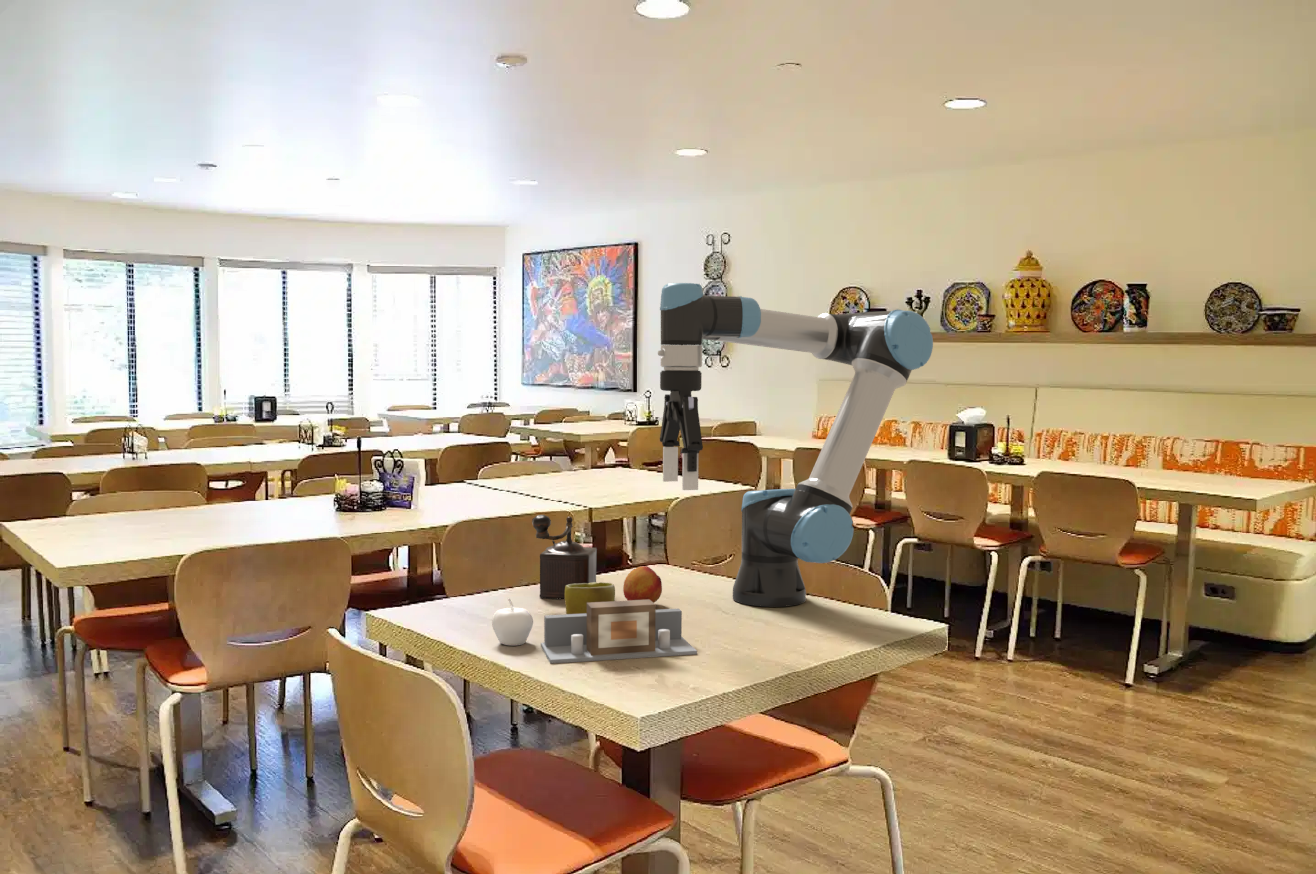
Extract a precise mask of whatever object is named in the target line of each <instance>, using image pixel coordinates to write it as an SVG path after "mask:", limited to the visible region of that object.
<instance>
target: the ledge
mask: <svg viewBox="0 0 1316 874" xmlns="http://www.w3.org/2000/svg"><path fill="white" fill-rule="evenodd" d="M682 615H683V612H682V610H681V609H680V608H663V609H656V612H655V651H651V652H636V653H620V654H605V655H591V654H590V653H589V652H588V650H587V613H583V614H549V615H548V614H547V615H546V614H545V615H544V619H543V621H544V624H543V627H544V632H543V634H544V635H543V636H544V637H543V638H544V640H543V642H540V648H541V649H542V651H543V653H544V655H545V657H546V659H547V660H548V662H549V663H550V664H563V663H578V662H592V661H593V662H594V661H595V662H596V661H609V660H611V661H612V660H624V659H625V660H626V659H628V660H629V659H640V658H658V657H660V658H661V657H675V656H688V655H697V654H698V650H697V649H696V648H695V647H694V646H692V644H691V643H689V642H688V641H687V640H686V639H685V638H684V637H683V635H682V634H683V633H682V627H683V626H682V624H683V623H682V619H683V618H682V617H683V616H682Z"/></svg>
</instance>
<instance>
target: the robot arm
mask: <svg viewBox="0 0 1316 874" xmlns="http://www.w3.org/2000/svg"><path fill="white" fill-rule="evenodd" d="M660 295H661V296H660V303H659V304H660V307H659V311H660V350H658V351H657V355H658V356H660V366H661V368H663V370H661V371H660V372H659V375H660V376H659V388H660V390H661V391H663V392H670V394H664V398H663V399H664V407H663V415H662V421H661V428H660V434H659V442H660V443H661V445H662V446H663V447H662V482H663V483H664V482H669V483H670V482H678V479H679V472H678V471H679V447H680V446H681V445H680V440H679V435H681V439H682V445H683V447H682V448H681V450H680V454H682V470H681V471H682V472H681V473H682V482H681V484H682V487H681V488H682V489H681V490H682V491H698V490H699V453H700V452H701V451H703V449H704V446H703V438H702V437H703V436H702V431H701V422H700V416H699V405H698V404H699V402H698V401H699V399H698V397H697V396H692V392H699V391H702V372H701V370H700V369H699V368H701V367H703V340H706V341H715V342H724V343H733V344H739V345H747V346H748V345H749V346H756V347H763V348H772V349H779V350H784V351H785V350H787V351H793V352H802V353H809V354H811V355H812V356H813V357H814V358H816V359H818V360H825V361H831V362H836V363H840V364H844V365H848V366H852V368H853V370H854V375H853V378H852V380H851V382H850V383H849V386H848V389H847V391H846V394H845V395H844V397H843V400H842V402H841V404H840V407H839V409H838V412H837V413H836V416H835V418H834V421H833V423H832V425H831V426H830V427H831V428H830V429H829V432H828V434H827V436H826V438H825V441H824V443H823V445H822V448H821V450H820V452H819V453H818V457H817V459H816V461H815V464H814V465H813V468H812V470H811V473H810V475H809V476H808V477H809V478H807V479H805V480H802V481H800V482H798V484H797V485H796V487H795V488H781V489H780V488H779V489H777V488H776V489H761V490H750V491H749V490H748V491H746V492H745V493H744V494H743V497H742V504H741V561H740V562H741V563H740V565H739V569H738V571H737V575H736V576H735V580H734V582H733V583H734V584H733V586H732V600H734V601H735V602H737V603H740V604H743V605H747V606H755V607H768V608H771V607H772V608H776V607H777V608H778V607H779V608H781V607H782V608H783V607H792V606H797V605H801V604H804V603H805V602H806V601H807V590H806V585H805V583H804V579H803V577H802V574H801V573H802V572H801V570H800V566H799V562H798V561H799V560H801V561H804V562H805V563H816V564H825V563H826V564H828V563H830V562H832V561H835V560H838V559H839V558H840V557H841V556H842V555H844V554H845V552H846V551H847V550H848V548H849V546H850V545H851V542H852V539H853V536H854V530H855V529H854V526H853V524H854V522H853V519H852V518H853V517H851V515H850V514H851V512H852V510H853V507H854V505H853V503H852V502H851V499H850V494H851V492H852V490H853V488H854V486H855V483H856V480H857V479H858V476H859V474H860V472H861V470H862V467H863V465H864V462H865V460H866V458H867V455H868V453H869V451H870V448H871V446H872V443H873V441H874V439H875V437H876V435H877V432H878V430H879V427H880V426H881V423H882V421H883V418H884V416H885V413H886V411H887V409H888V407H889V406H890V405H889V404H890V402H891V400H892V398H893V395H894V392H895V391H896V389H898V388H902V387H904V386H906V384H907V382H908V380H909V377H910V375H911V373H912V371H913V370H918V369H920V368H921V367H923V366H925V365H926V364H927V363H928V361H929V360H930V359H931V356H932V353H933V350H934V339H933V334H932V333H931V328H930V325H929V324H928V322H927V320H926V319H925V318H924V317H923V316H922V315H921V314H919V313H917V312H915V311H912V310H903V309H893V310H887V311H886V310H885V311H882V310H881V311H862V312H854V313H842V314H841V313H840V314H835V313H827V312H825V313H821V314H818V315H817V316H813V315H812V316H811V315H805V314H800V313H799V314H798V313H793V312H787V311H786V312H785V311H777V310H770V309H765V308H761V306H760V304H759V302H758V301H757V300H756V299H755V298H753V297H745V296H742V295H737V296H734V295H733V296H731V295H730V296H728V295H727V296H726V295H723V296H721V295H720V296H719V295H705V294H704V291H703V286H702V285H701V284H700V283H692V282H673V283H672V282H671V283H666V284H665V285H663V286H662V288H661V294H660Z"/></svg>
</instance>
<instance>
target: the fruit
mask: <svg viewBox="0 0 1316 874" xmlns="http://www.w3.org/2000/svg"><path fill="white" fill-rule="evenodd" d="M622 587H623V588H622V591H623V592H622V593H623V596H624V598H625V599H626V601H628V600H647V599H650V600H651V601H652V602H653V603H654V604H655V602H657V601H658V600H659V599H660V597H661V595H662V593H663V583H662V579H661V577H660V576H659V574H657V573H656V572H655V571H654V570H653V569H652V568H651V567H649V566H647V565H646V566H644V565H642V566H639V567H636V568H634V569H632V570H631V571H629V573H628V574H627V575H626V577H625V579H624V581H623V586H622Z"/></svg>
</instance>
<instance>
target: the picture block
mask: <svg viewBox="0 0 1316 874" xmlns="http://www.w3.org/2000/svg"><path fill="white" fill-rule="evenodd" d="M656 610H657V609H656V603H655V602H654V603H653V602H652V601H651V600H650V599H647V600H616V601H609V602H591V603H587V650H588V652H589V653H590V654H591V655H605V654H620V653H636V652H651V651H655V612H656Z"/></svg>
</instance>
